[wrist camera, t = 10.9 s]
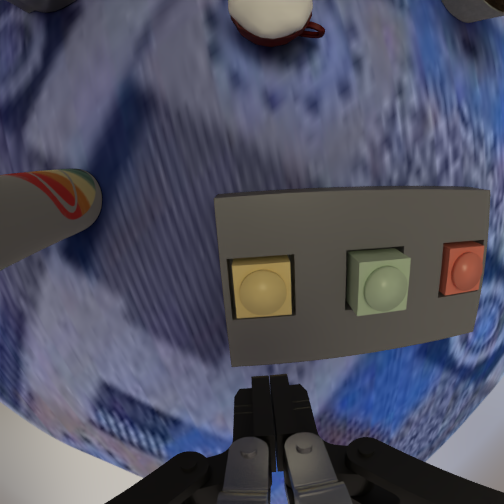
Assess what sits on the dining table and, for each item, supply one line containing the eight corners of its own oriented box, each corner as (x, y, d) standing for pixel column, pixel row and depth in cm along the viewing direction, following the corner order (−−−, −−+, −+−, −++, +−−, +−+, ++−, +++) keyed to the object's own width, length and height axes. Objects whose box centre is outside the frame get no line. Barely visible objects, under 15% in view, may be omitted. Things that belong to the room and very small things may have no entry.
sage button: (346, 300, 26) (359, 319, 23) (347, 251, 25) (362, 265, 22) (391, 295, 26) (409, 312, 23) (394, 248, 25) (414, 260, 22)
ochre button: (237, 302, 28) (236, 321, 24) (233, 254, 26) (231, 268, 23) (287, 299, 28) (292, 317, 24) (285, 251, 26) (291, 264, 23)
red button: (429, 284, 27) (448, 298, 24) (432, 240, 26) (453, 250, 23) (461, 279, 27) (482, 291, 24) (466, 238, 26) (488, 247, 23)
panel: (233, 345, 30) (231, 366, 26) (218, 194, 26) (213, 198, 23) (455, 317, 30) (472, 331, 26) (468, 186, 26) (490, 190, 23)
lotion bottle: (89, 157, 25) (-106, 170, 6) (113, 215, 26) (-68, 303, 7) (45, 185, 26) (-134, 229, 6) (66, 239, 27) (-99, 333, 8)
